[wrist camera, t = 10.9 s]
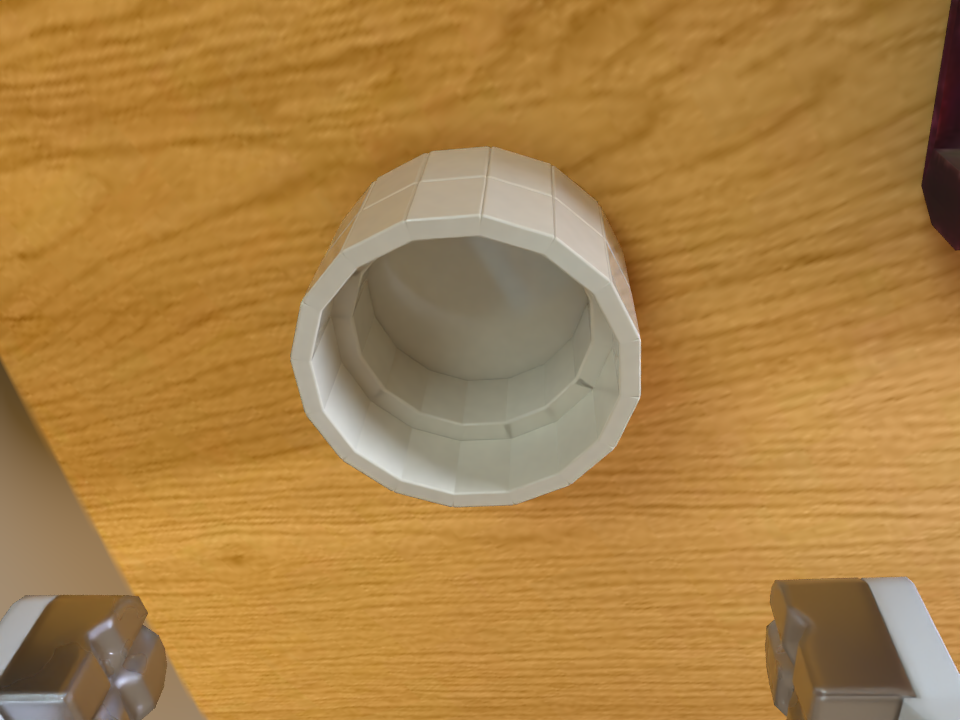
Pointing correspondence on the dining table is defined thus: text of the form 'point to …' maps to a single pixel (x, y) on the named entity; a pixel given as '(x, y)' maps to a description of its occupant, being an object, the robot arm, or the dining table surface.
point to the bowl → (470, 331)
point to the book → (946, 140)
